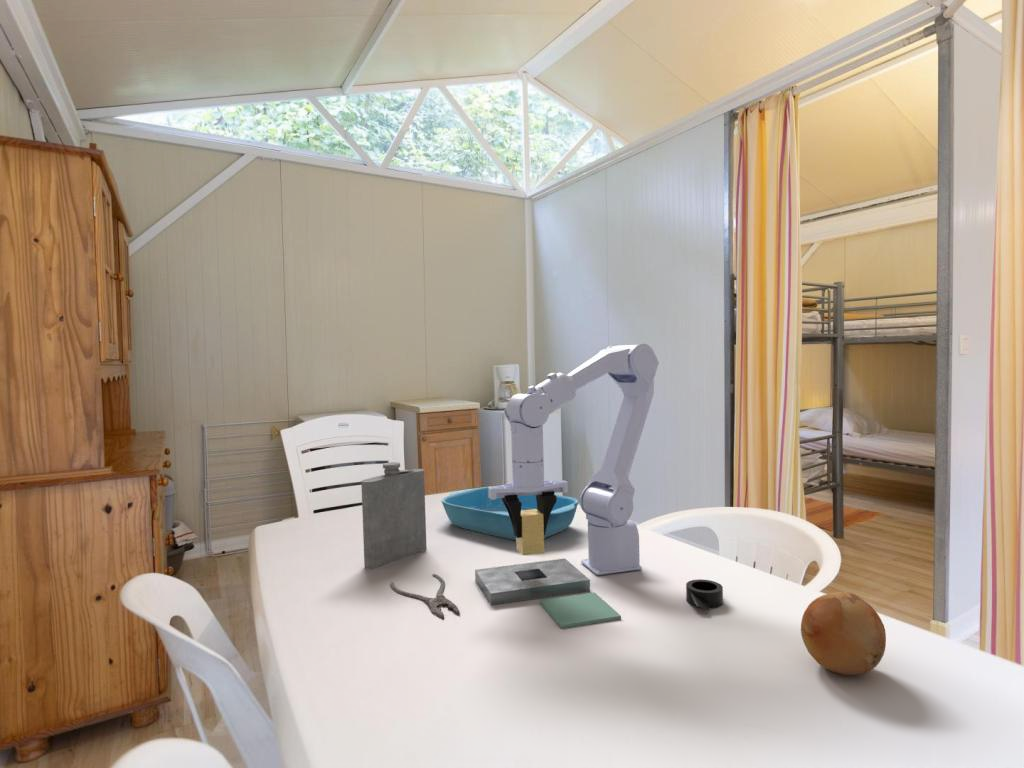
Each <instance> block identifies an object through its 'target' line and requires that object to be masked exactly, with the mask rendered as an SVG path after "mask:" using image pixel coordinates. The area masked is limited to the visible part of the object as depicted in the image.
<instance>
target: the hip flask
mask: <svg viewBox="0 0 1024 768" xmlns="http://www.w3.org/2000/svg"><path fill="white" fill-rule="evenodd" d="M399 468H401V463H400V462H397V461H396V462H392V461H391V462H385V463H383V464H382V469H384V470H383V472H384V474H382V475H378V476H374V477H373V476H372V477H369V478H366V479H362V480H361V482H360V483H361V484H360V486H361V506H362V508H361V509H362V510H361V511H362V532H363V533H362V535H363V538H362V539H363V558H364V559H363V560H364V561H363V562H364V564H363V565H364V569H367V570H368V569H369V570H373V569H377V568H378V569H379V567H382V566H384V565H386V564H389V563H391V562H394V561H396V560H399V559H402V558H404V557H407V556H410V555H413V554H418V553H421V552H424V551H426V550H427V521H426V519H427V518H426V497H425V496H426V495H425V494H426V491H425V490H426V489H425V469H423V468H413V469H412V468H411V469H408V468H407V469H399Z"/></svg>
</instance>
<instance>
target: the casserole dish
mask: <svg viewBox="0 0 1024 768" xmlns="http://www.w3.org/2000/svg"><path fill="white" fill-rule="evenodd" d="M493 486H494V485H493ZM493 486H483V487H478V488H471V489H468V488H467V489H462V490H459V491H455V492H451V493H450V494H448V495H447V496H445V497H443V498H442V499H441V501H440V502H441V504H442V506H443V509H444V511H445V514H446V515H447V518H448V520H449V521H450V522H451V523H452V524H453V525H454V526H456V527H458V528H462V529H465V530H468V529H469V531H473V532H476V531H477V532H476V533H480V532H481V533H482V534H484V535H485V534H487V535H489V534H490V535H489V536H493V535H494V536H493V537H498V538H503V539H508V540H510V541H511V540H513V541H516V536H515V535H514V530H513V526H512V522H511V519H510V516H509V514H508V511H507V509H506V507H505V505H504V503H503V501H502V499H501V498H497V499H494V500H491V499H490V498H489V496H488V487H493ZM554 495H556V496H557V501H556V503H555V505H554V507H553V509H552V511H551V514H550V516H549V520H548V523H547V528H546V534H545V535H544V539H545V538H548V537H551V536H553V535H556V534H558V533H561V532H563V531H565V530H567V528H568V527H570V525H571V524H572V523H573V520H574V518H575V514H576V511H577V510H578V509H577V508H578V504H579V500H578V498H575V497H571V496H567V495H560V494H556V493H554ZM517 497H518V498H519V501H520V502H521V503H522V505H521V511H522V510H532V509H537V501H536V495H527V496H517Z"/></svg>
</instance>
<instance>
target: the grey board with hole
mask: <svg viewBox="0 0 1024 768" xmlns="http://www.w3.org/2000/svg"><path fill="white" fill-rule="evenodd" d="M474 578H475V579H474V580H475V583H476V584H477V585H478V587H479V588H480V590H481V592H482V593H483V595H484V597H485V598H486V600H487V601H488V603H489V605H490V606H495V605H502V604H503V605H504V604H508V603H516V602H522V601H523V602H524V601H530V600H537V599H543V598H544V599H545V598H551V597H552V598H553V597H556V596H557V597H558V596H564V595H565V596H566V595H573V594H578V593H586V592H590V591H591V579H589V578H588V577H587V576H586V575H585V574H584V573H583V572H581V571H580V570H579V569H578V568H577V567H576V566H575V565H574V564H573V563H571V562H570V561H569V560H567V559H566V558H558V559H549V560H541V561H533V562H526V563H517V564H511V565H503V566H495V567H486V568H479V569H478V568H477V569H474Z"/></svg>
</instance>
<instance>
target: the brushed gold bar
mask: <svg viewBox="0 0 1024 768" xmlns="http://www.w3.org/2000/svg"><path fill="white" fill-rule="evenodd" d="M520 521H521V538H517V537H516V540H515V544H516V549H515V550H517V551H518V553H520V554H521V556H530V555H538V554H545V538H544V521H543V514H542V513H541V512H540V511H538V510H537V509H532V510H522V511H521V519H520Z"/></svg>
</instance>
